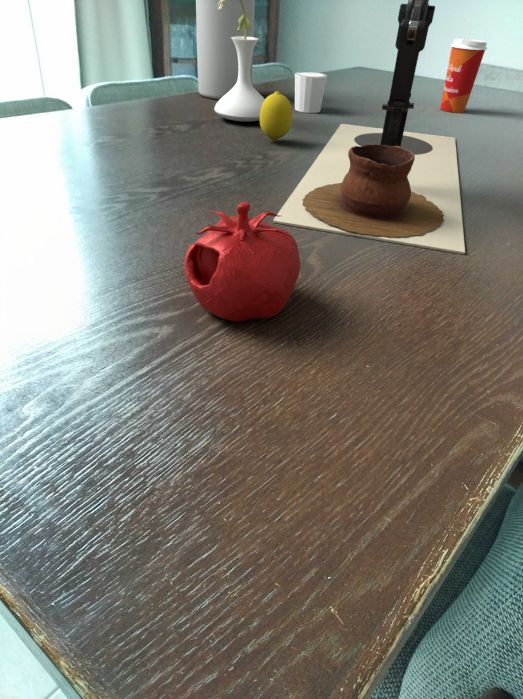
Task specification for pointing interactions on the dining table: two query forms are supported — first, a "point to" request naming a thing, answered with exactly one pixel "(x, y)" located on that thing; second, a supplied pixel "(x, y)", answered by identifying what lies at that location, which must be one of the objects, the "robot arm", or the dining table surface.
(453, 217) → the cooktop
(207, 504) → the dining table surface
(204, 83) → the cylinder vase
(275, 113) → the lemon
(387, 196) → the ceramic pot
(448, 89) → the paper cup
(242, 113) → the flower in vase
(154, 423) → the dining table surface
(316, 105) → the shot glass
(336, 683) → the dining table surface
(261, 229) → the red tomato
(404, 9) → the robot arm
